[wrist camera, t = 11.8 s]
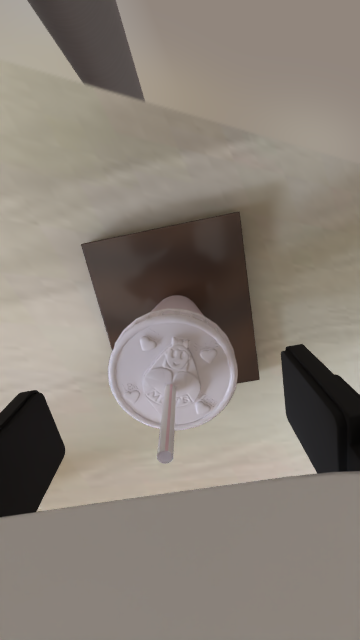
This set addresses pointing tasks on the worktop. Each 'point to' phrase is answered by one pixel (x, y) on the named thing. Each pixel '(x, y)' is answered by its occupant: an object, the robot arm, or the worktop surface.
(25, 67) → the worktop surface
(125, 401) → the smoothie
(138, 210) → the worktop surface
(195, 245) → the walnut board
